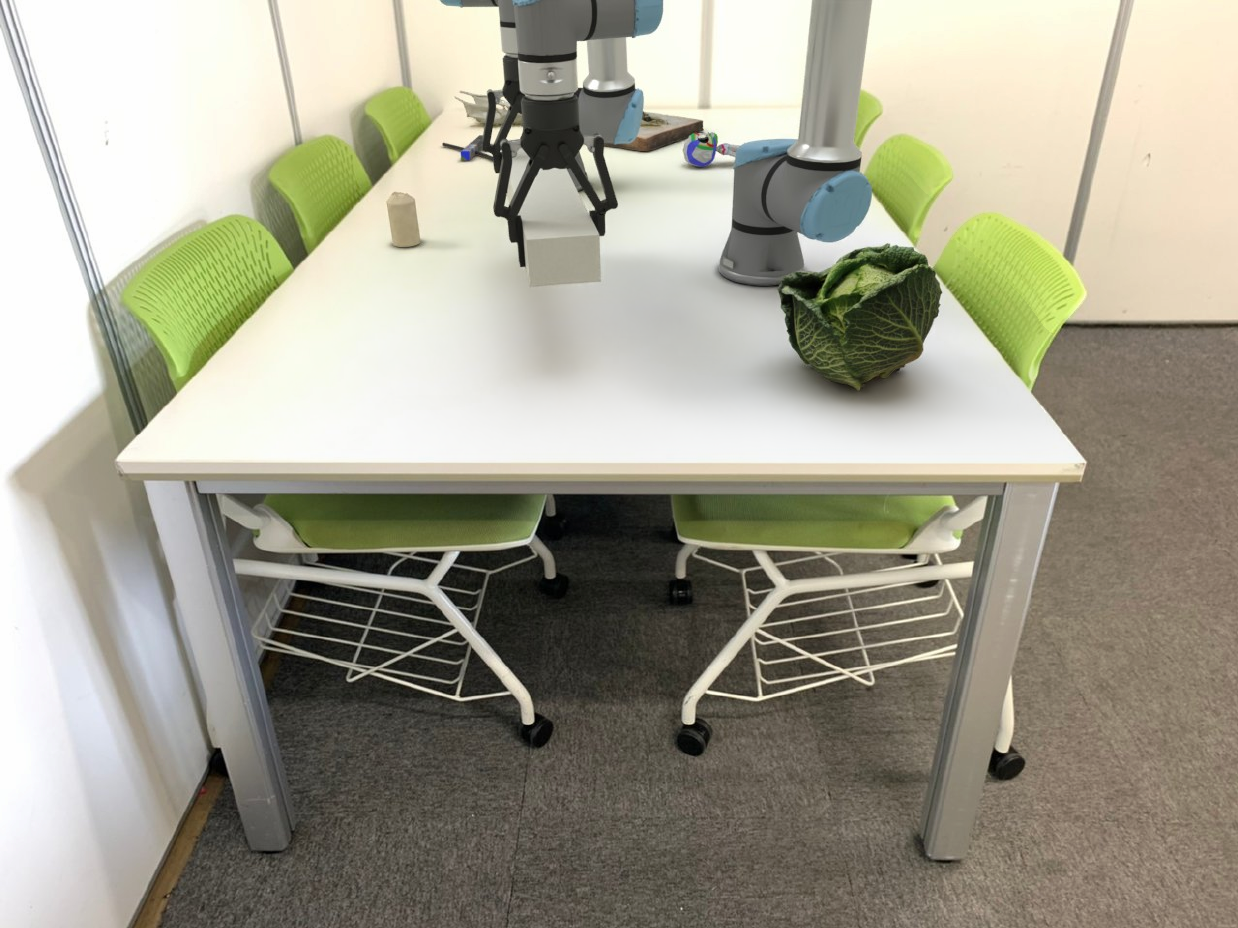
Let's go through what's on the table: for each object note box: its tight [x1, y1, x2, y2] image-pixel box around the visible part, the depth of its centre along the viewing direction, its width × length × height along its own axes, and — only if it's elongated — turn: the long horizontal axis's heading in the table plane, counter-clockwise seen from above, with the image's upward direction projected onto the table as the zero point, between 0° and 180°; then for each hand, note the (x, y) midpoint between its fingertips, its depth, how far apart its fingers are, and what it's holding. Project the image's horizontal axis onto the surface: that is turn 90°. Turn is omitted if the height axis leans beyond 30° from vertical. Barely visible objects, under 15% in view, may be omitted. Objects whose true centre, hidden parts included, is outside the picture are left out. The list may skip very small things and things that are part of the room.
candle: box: [385, 191, 421, 248], centre depth 178 cm, size 6×6×10 cm
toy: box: [682, 131, 741, 168], centre depth 228 cm, size 10×8×30 cm
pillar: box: [460, 134, 483, 162], centre depth 244 cm, size 2×2×20 cm
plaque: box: [604, 110, 705, 152], centre depth 257 cm, size 30×7×30 cm
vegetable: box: [777, 242, 943, 392], centre depth 124 cm, size 20×19×20 cm
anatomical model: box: [454, 90, 522, 126], centre depth 274 cm, size 15×9×25 cm
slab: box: [506, 148, 602, 288], centre depth 143 cm, size 55×10×7 cm, turn 10°
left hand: (533, 189), depth 161 cm, fingers closed on slab, 10 cm apart
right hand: (558, 261), depth 128 cm, fingers closed on slab, 10 cm apart
